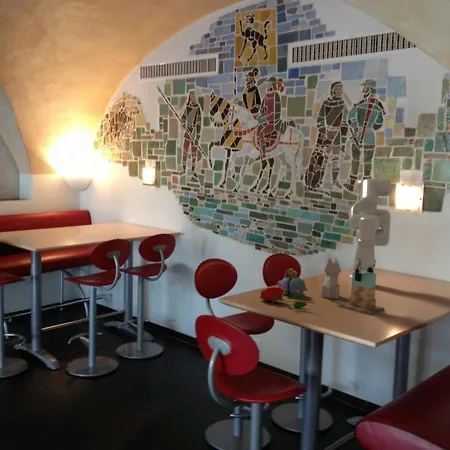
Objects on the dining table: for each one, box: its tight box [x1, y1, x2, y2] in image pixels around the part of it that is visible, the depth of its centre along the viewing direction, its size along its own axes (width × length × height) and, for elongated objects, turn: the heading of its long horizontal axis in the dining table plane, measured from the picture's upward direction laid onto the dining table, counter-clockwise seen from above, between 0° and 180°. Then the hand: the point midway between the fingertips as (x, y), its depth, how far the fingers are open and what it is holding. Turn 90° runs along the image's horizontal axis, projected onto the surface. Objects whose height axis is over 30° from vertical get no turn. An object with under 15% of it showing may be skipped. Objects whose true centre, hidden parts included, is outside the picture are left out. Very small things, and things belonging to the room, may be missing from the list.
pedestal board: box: [340, 295, 385, 316], centre depth 261 cm, size 16×12×5 cm
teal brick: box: [351, 271, 377, 288], centre depth 259 cm, size 9×6×6 cm, turn 49°
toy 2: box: [320, 257, 342, 300], centre depth 277 cm, size 9×18×20 cm, turn 161°
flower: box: [259, 286, 315, 310], centre depth 261 cm, size 9×9×30 cm
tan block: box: [350, 284, 376, 301], centre depth 260 cm, size 9×6×6 cm, turn 42°
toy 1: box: [277, 268, 309, 296], centre depth 281 cm, size 11×14×15 cm
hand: (363, 279), depth 259 cm, fingers open, 9 cm apart
